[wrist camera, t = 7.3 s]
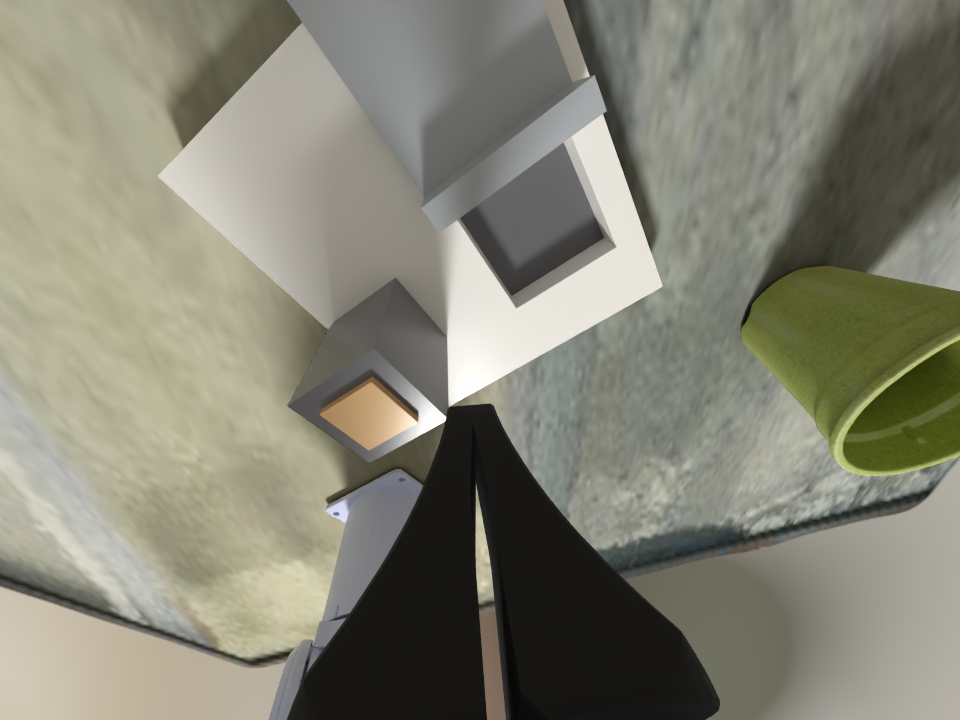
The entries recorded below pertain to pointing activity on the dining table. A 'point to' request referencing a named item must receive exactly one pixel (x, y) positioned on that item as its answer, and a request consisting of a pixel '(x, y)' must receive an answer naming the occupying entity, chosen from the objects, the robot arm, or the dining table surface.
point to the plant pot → (866, 363)
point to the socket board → (416, 217)
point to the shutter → (455, 88)
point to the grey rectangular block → (377, 375)
